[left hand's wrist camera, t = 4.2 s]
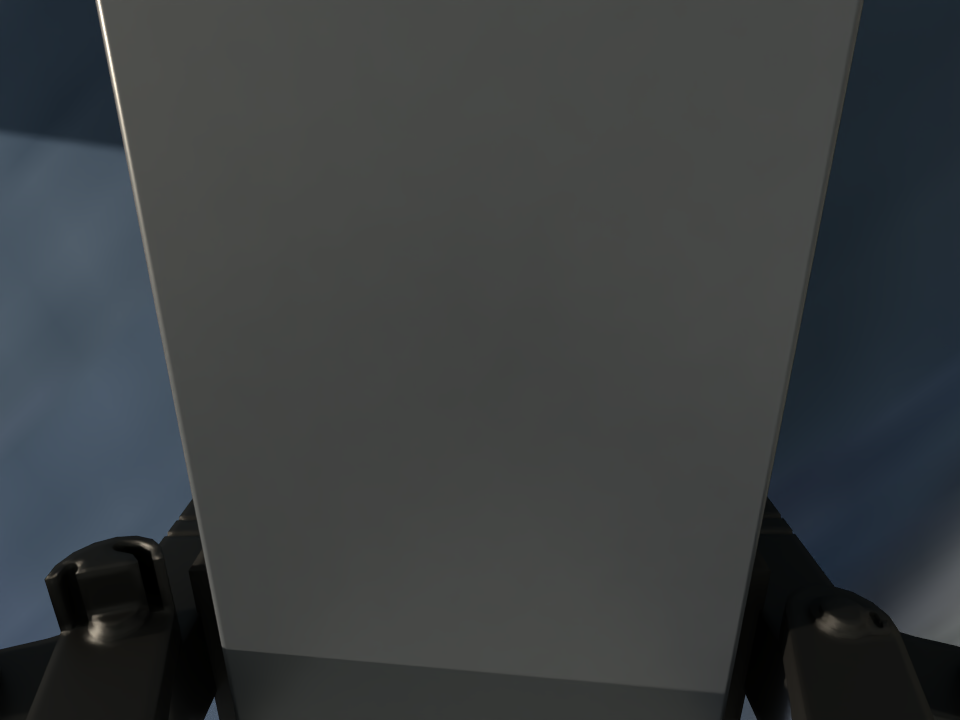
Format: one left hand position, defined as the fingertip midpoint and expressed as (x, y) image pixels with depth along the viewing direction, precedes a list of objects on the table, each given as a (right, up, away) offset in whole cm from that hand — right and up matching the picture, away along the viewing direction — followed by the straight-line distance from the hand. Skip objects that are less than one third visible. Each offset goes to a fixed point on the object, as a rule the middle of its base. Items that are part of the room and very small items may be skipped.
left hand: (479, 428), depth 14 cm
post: (0, +21, -8) cm, 23 cm away
